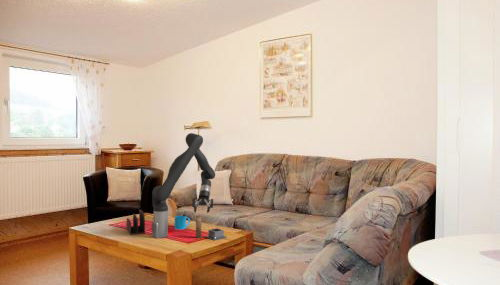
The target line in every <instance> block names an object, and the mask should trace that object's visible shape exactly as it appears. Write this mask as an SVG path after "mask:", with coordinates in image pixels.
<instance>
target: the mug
mask: <svg viewBox="0 0 500 285" xmlns="http://www.w3.org/2000/svg"><path fill="white" fill-rule="evenodd" d="M187 219H188V223H187ZM190 223H191V219H190V218H189V217H187V216H186V215H176V216H174V229H175V230H185V229H186V228H187V227H188V226H189V225H190Z"/></svg>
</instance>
